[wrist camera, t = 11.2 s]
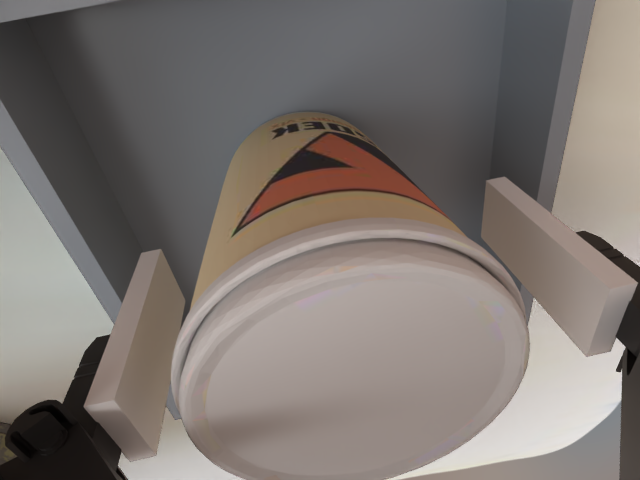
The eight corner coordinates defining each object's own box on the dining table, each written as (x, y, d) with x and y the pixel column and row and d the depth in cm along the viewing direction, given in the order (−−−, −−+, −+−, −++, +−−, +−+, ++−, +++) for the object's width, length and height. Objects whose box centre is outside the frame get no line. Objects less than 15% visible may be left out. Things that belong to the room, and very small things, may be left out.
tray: (186, 349, 26) (175, 419, 22) (2, -7, 15) (-92, 2, 11) (482, 284, 27) (524, 340, 23) (523, -102, 16) (622, -128, 11)
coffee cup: (430, 129, 19) (624, 298, 9) (352, 278, 24) (428, 499, 14) (236, 57, 16) (219, 194, 6) (189, 243, 21) (137, 493, 11)
